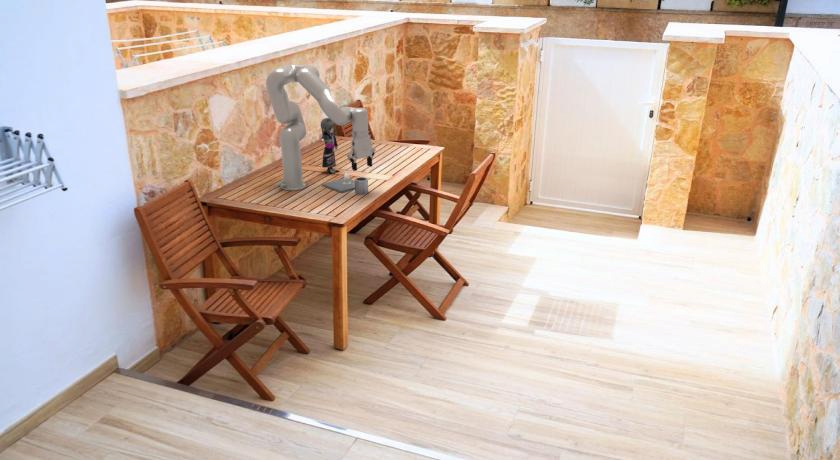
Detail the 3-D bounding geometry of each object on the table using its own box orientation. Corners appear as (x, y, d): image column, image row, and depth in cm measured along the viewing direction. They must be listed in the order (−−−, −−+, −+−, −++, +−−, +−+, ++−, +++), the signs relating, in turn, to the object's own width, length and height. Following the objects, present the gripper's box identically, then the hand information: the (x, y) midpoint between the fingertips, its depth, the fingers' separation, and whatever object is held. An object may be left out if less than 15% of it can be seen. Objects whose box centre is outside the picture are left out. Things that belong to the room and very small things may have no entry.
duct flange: (341, 193, 336) (341, 181, 334) (322, 185, 347) (321, 174, 345) (366, 186, 347) (365, 175, 344) (346, 179, 357) (346, 168, 355)
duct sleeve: (360, 195, 333) (360, 181, 331) (352, 192, 337) (352, 178, 335) (370, 192, 338) (370, 179, 335) (362, 189, 342) (362, 176, 339)
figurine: (329, 178, 358) (327, 122, 347) (315, 177, 359) (313, 122, 348) (339, 169, 374) (337, 116, 363) (326, 169, 375) (324, 115, 364)
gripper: (351, 138, 318) (353, 173, 325) (379, 132, 330) (380, 166, 336) (341, 135, 323) (343, 170, 330) (369, 129, 335) (370, 163, 341)
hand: (362, 168), depth 333 cm, fingers open, 9 cm apart
